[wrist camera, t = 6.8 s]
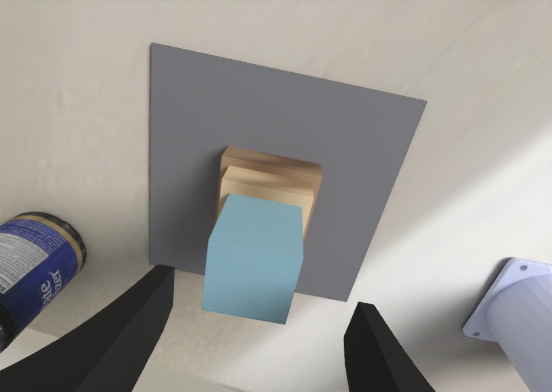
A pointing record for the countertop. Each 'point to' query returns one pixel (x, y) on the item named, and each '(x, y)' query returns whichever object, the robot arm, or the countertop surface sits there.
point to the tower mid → (267, 189)
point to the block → (254, 259)
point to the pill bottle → (34, 268)
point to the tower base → (271, 170)
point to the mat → (278, 141)
